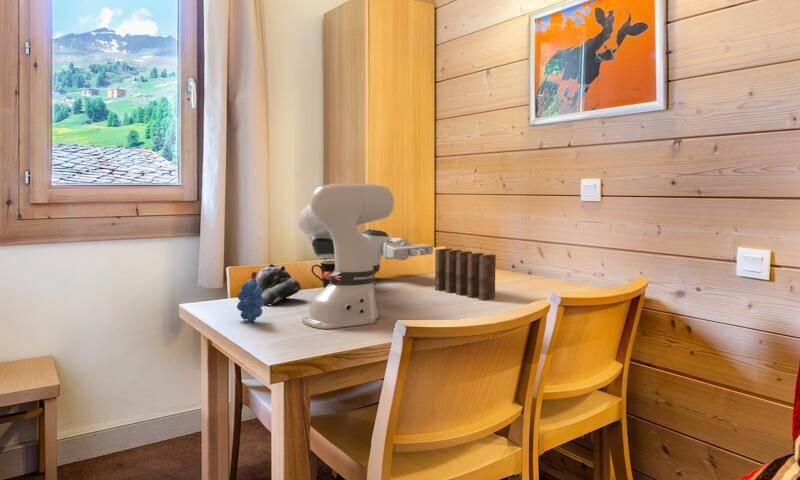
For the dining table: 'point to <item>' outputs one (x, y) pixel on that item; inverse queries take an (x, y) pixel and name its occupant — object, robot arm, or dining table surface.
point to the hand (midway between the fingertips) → (422, 253)
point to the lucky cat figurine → (275, 283)
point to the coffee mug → (325, 270)
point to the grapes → (250, 301)
